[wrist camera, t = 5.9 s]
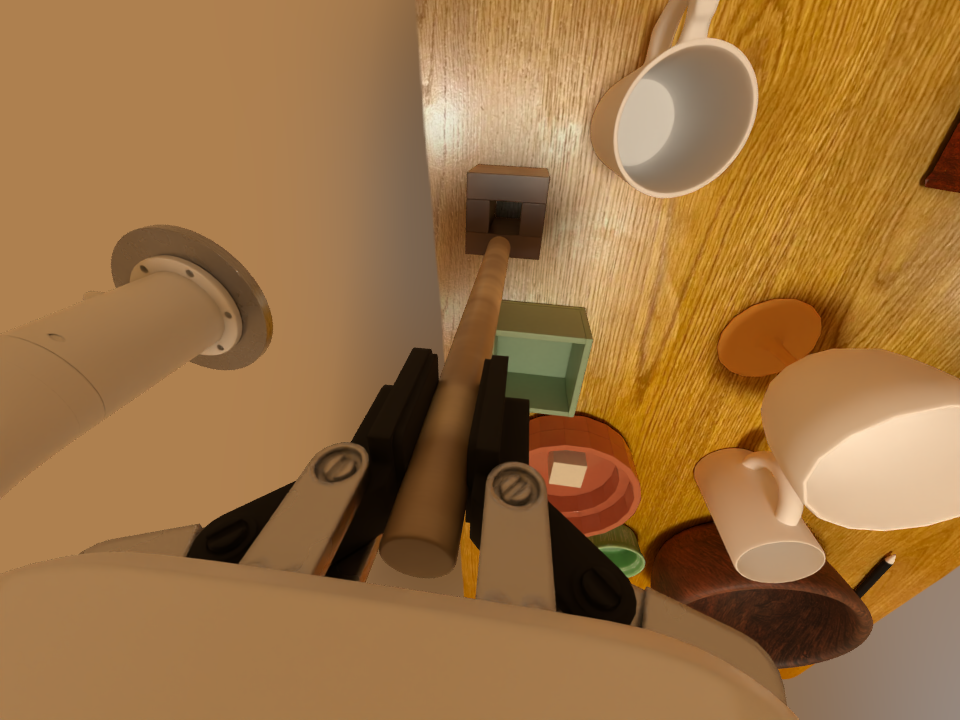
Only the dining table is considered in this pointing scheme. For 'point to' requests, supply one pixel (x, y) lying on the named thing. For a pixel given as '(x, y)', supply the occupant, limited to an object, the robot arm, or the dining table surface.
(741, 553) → the mug
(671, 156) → the mug
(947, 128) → the dining table surface
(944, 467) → the cup
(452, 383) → the stick
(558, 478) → the block
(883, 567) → the black pencil
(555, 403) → the tub
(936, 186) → the wooden coffin
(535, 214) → the holder
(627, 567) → the ramekin
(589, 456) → the bowl
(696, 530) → the wooden bowl
